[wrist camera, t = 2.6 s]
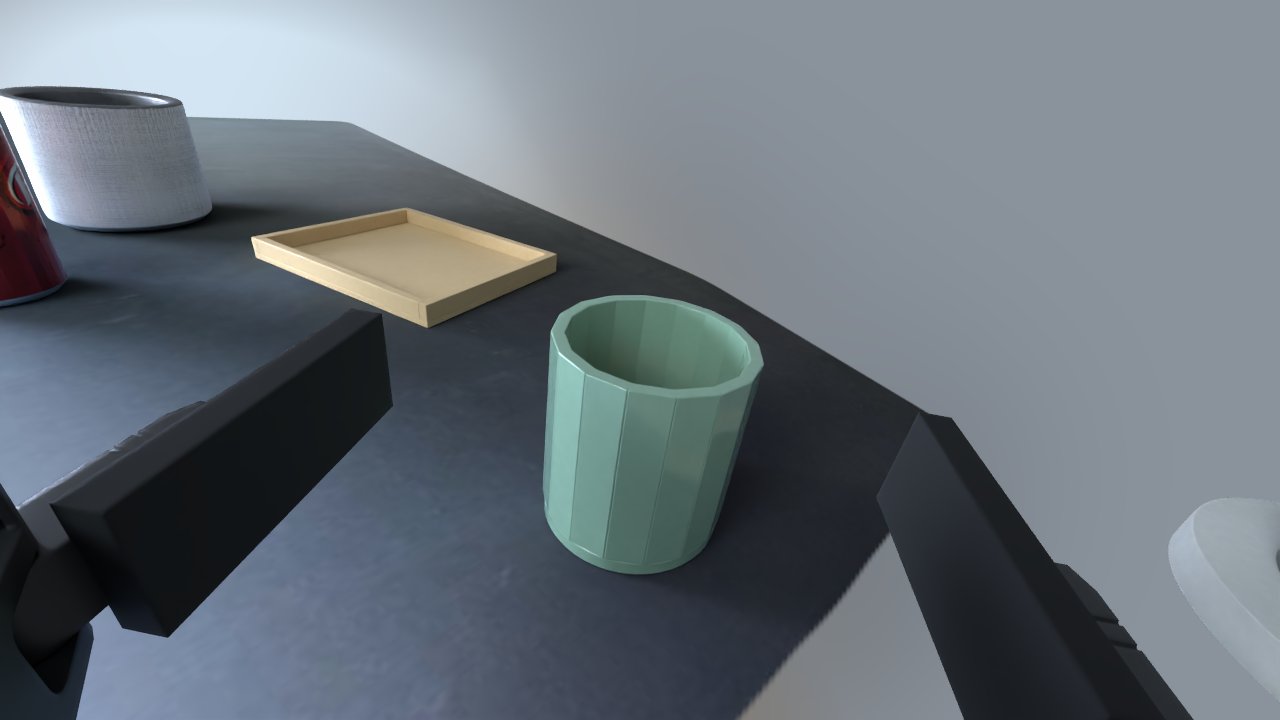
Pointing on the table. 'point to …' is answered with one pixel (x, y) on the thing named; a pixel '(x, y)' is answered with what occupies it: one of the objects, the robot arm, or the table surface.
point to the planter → (107, 157)
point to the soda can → (23, 239)
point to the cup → (643, 428)
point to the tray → (407, 262)
